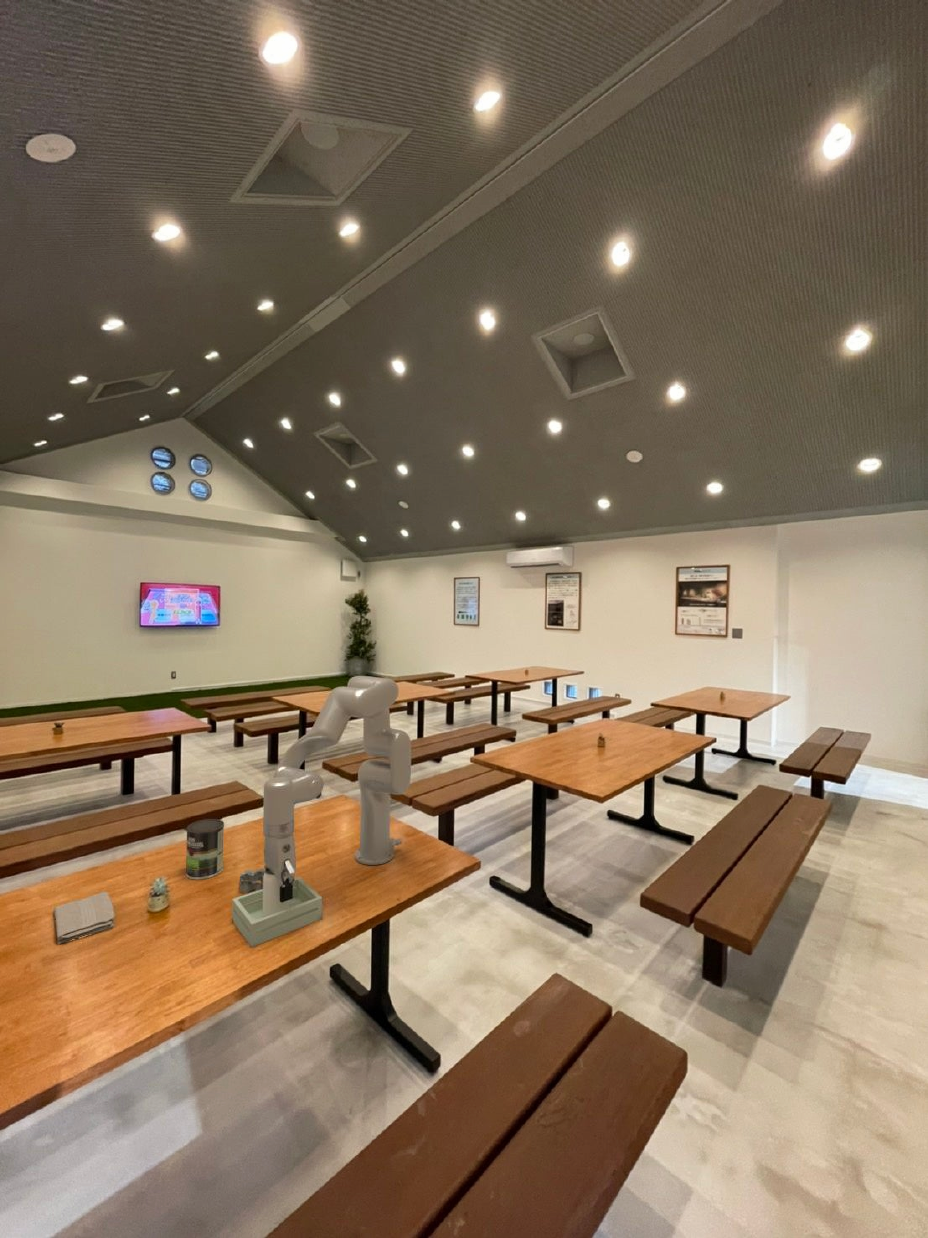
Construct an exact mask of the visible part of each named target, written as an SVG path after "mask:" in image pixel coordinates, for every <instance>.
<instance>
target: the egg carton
mask: <svg viewBox="0 0 928 1238" xmlns="http://www.w3.org/2000/svg"><path fill="white" fill-rule="evenodd" d="M264 874H265V868H261V869H256V870H245V871H244V872H242V873H240V875H239V881H238V885H239V893H243V894H249V893H251V892H253V891H258V890H261V889H263V876H264ZM258 880H260V881H258Z"/></svg>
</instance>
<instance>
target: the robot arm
mask: <svg viewBox="0 0 928 1238" xmlns="http://www.w3.org/2000/svg"><path fill="white" fill-rule="evenodd" d="M346 685H347V686H337V687H335V688H333V689H332V690H331V691H330V693H329V694H328V696H327V698H326V700H325V701H324V705H323V706H322V708H321V710H320V712H319V714H318V716H317V718H316V720H315V722H314V724H313V726H312V727H311V729H310V731H308V732H307V733H306V734H304V735H302V736H301V737H300V738H299V739H298V740H296V741H295V742H294V743H293V744H292V745H290V747H289V748H288V749H287V750H286V751H285V753H283V756H282V757H281V759H280V761H279V763H278V765H277V767H276V769H275V771H274V773H273V777H272V778H269V779H268V780H266V782H265V783H264V784H263V812H262V813H263V820H262V821H263V831H262V835H263V837H264V846H263V861H264V868H263V869H266V868H267V867H268V869H269V870H270V871H271V872H272V873H273V874H274V875H276V876H277V877H279V879H280V883H281V886H280V902H281V903H282V902H285V901H287V900H290V899H292V898H293V883H294V878H295V876H296V871H297V861H296V860H297V857H296V843H295V837H294V832H295V805H297V804H301V803H306V802H310V801H312V800H314V799H316V798H317V797H319V796H320V795H321V793H322V791H323V790H324V784H325V783H324V780H323V778H322V776H321V775H320V774H318V773H317V772H313V771H310V770H307V769H306V770H305V769H301V765H302V764H303V763H304V761H306V760H307V759H308V758H309V757H310V756H311V755H313V754H315V753H318V752H319V751H323V750H325V749H328V748H331V747H333V746H336V745H337V744H338V743H339V742H340V740H341V738H342V736H343V734H344V731H345V729H346V727H347V725H348V723H349V721H350V719H351V718H358V719H359V718H360V719H363V720H362V721H363V722H362V723H363V730H362V731H363V738H362V739H363V741H362V744H363V750H364V752H365V753H366V754H367V755H368V756H372V757H376V758H369V759H367V760H365V761H364V760H363V762H362V763H361V764H360V766H359V768H358V772H357V780H358V786H359V792H360V793H359V794H360V828H359V829H360V830H359V836H360V838H359V848H358V849H357V850H356V851H355V853H354V859H355V860H356V861H357V862H358V863H359V864H363V865H368V866H378V865H382V864H385V863H388V862H389V861H391V860H393V858H394V857H395V851H394V849H393V848H395V847H396V846H400V845H402V843H403V840H402V838H401V837H399V838H396V839H395V838H394V837H390V833H391V829H390V828H391V800H390V798H391V797H390V796H389V794H391V795H398V796H399V795H403V794H405V793H406V792H407V791H408V789H409V787H410V783H411V775H412V742H411V738H410V736H409V734H408V733H407V732H406V731H404V730H401V729H396V728H392V727H391V720H390V719H391V717H390V707H391V706H392V705H393V704H394V703H395V702H396V701H397V699H398V698H399V697H398V696H399V687H398V684H397V682H396V681H395V680H393V679H391V678H385V677H378V676H377V677H376V676H367V675H355V676H353V677H351V678H349V680H348V682H347V684H346ZM378 758H380V759H378ZM383 759H386V760H383ZM388 760H389V761H388ZM285 870H286V871H287V872H285V873H282V871H285ZM286 875H288V876H287V877H288V878H286V880H285V881H284V879H283V876H286Z"/></svg>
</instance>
